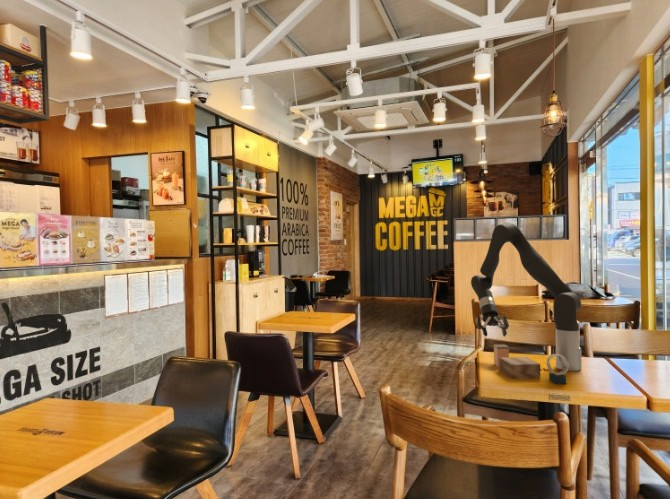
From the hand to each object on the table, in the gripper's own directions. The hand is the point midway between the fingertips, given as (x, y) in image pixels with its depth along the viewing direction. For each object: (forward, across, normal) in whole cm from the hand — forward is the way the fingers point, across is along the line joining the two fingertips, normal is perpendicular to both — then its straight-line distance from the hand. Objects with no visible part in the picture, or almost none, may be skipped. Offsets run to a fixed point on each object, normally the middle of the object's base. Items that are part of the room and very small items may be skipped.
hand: (495, 335), depth 213 cm
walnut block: (+24, +3, -7) cm, 26 cm away
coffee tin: (+14, 0, +3) cm, 15 cm away
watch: (+32, +14, -15) cm, 38 cm away
